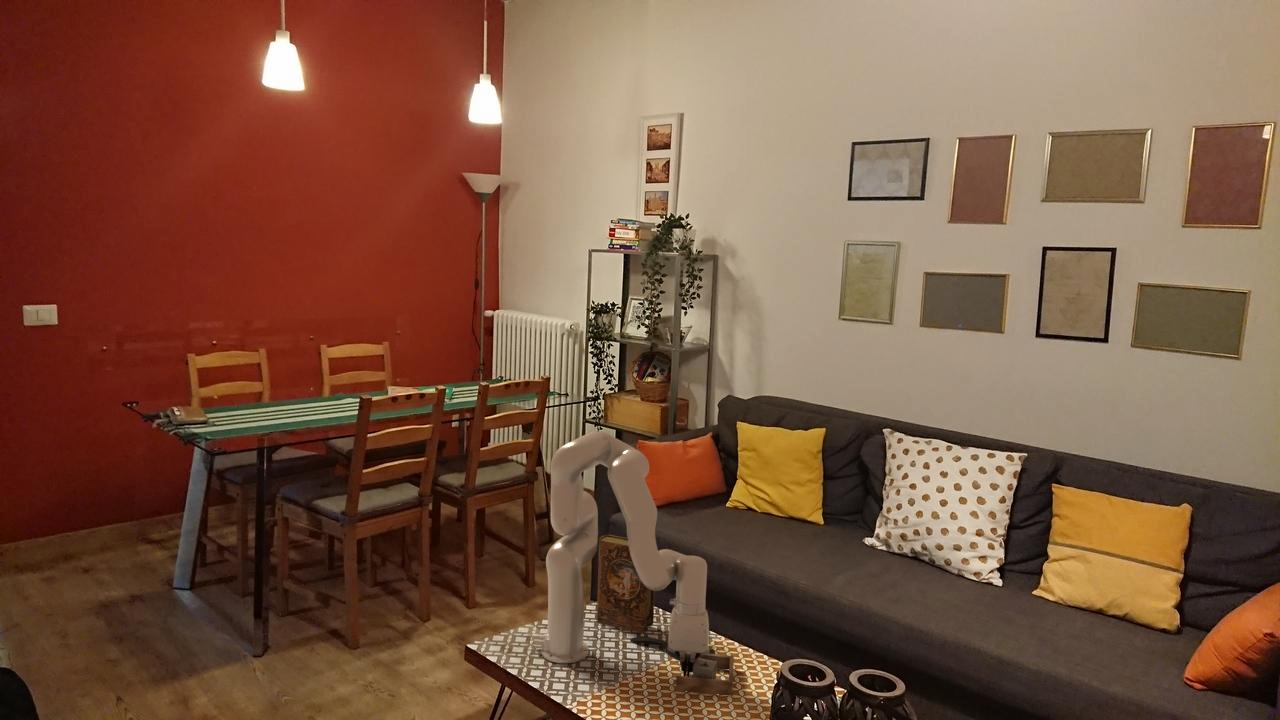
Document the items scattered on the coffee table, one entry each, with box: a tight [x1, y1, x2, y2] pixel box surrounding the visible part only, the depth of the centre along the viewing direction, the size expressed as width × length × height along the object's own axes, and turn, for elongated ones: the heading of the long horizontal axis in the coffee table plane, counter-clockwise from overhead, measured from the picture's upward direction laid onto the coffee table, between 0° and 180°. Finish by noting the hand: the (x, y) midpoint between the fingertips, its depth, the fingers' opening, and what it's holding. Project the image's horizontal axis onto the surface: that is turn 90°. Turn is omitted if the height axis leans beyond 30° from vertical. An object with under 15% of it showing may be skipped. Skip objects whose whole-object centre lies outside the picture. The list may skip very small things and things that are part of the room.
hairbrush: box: [630, 635, 716, 662], centre depth 226 cm, size 8×4×25 cm
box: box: [675, 652, 735, 697], centre depth 211 cm, size 14×14×4 cm
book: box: [596, 534, 655, 634], centre depth 240 cm, size 16×6×25 cm, turn 66°
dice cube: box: [692, 658, 718, 679], centre depth 210 cm, size 5×5×5 cm
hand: (686, 673), depth 212 cm, fingers closed
